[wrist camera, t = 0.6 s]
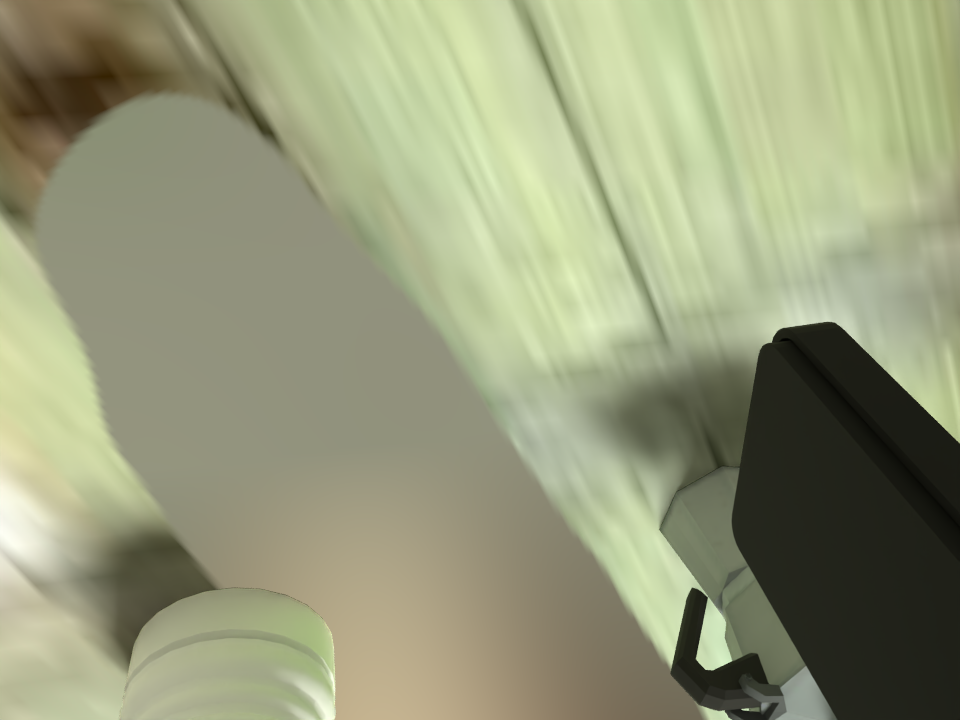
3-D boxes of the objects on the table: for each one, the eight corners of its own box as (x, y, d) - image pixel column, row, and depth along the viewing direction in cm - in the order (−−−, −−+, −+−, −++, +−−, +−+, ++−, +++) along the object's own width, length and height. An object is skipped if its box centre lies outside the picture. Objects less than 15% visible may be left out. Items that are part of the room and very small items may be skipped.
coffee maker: (830, 469, 55) (1022, 709, 40) (778, 563, 60) (933, 811, 45) (625, 454, 51) (754, 714, 36) (585, 556, 56) (685, 825, 41)
